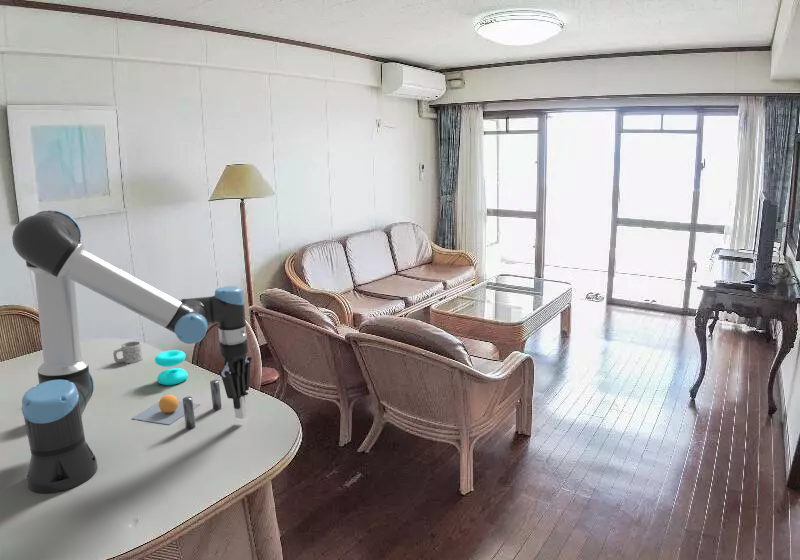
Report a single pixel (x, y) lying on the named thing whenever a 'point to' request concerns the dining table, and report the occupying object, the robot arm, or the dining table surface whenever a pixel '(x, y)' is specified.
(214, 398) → the far post
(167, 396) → the ball
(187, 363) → the dining table surface
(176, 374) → the donuts
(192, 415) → the near post
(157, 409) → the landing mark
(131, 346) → the mug
